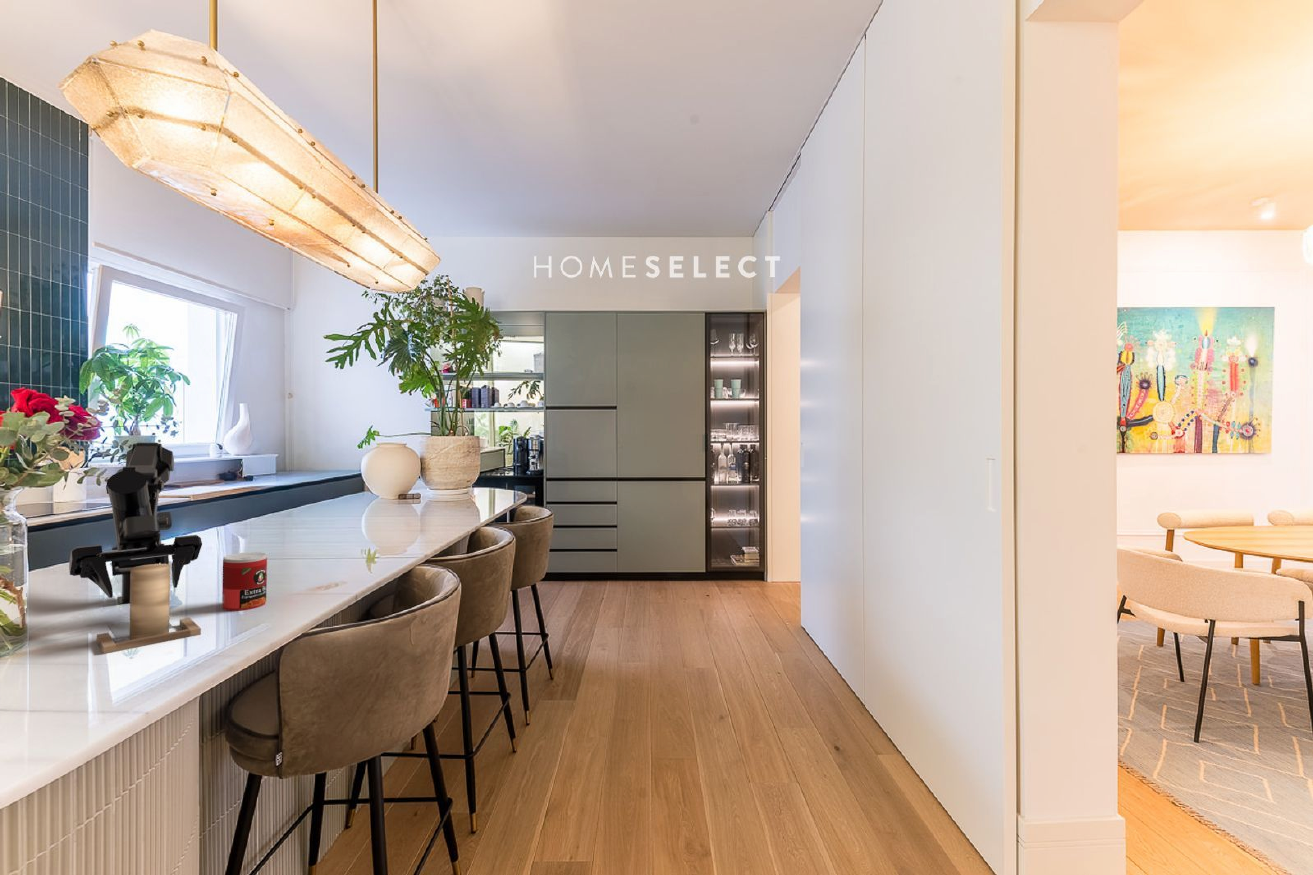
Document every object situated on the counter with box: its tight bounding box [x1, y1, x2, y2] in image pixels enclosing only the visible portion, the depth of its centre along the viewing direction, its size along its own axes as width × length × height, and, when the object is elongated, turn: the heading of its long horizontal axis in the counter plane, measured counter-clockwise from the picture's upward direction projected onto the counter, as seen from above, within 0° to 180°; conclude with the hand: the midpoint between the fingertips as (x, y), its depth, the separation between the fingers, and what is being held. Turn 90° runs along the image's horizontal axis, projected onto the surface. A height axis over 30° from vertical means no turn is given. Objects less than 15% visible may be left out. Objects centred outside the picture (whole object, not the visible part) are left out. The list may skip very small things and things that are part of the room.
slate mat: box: [108, 621, 175, 639], centre depth 110 cm, size 10×8×1 cm
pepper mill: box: [128, 563, 171, 641], centre depth 105 cm, size 5×5×13 cm
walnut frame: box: [96, 617, 202, 655], centre depth 105 cm, size 9×13×2 cm, turn 140°
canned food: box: [221, 551, 268, 612], centre depth 124 cm, size 8×8×11 cm
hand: (144, 591), depth 109 cm, fingers open, 9 cm apart
